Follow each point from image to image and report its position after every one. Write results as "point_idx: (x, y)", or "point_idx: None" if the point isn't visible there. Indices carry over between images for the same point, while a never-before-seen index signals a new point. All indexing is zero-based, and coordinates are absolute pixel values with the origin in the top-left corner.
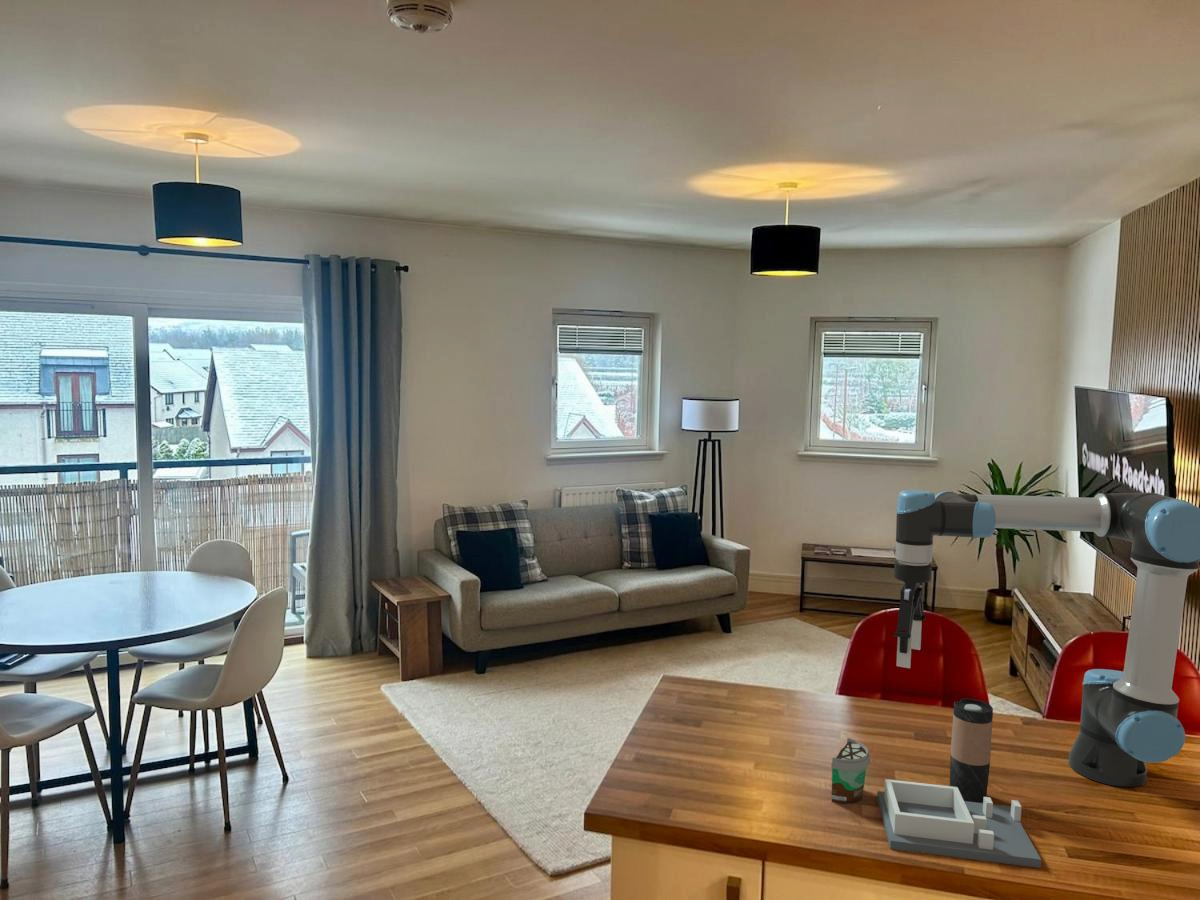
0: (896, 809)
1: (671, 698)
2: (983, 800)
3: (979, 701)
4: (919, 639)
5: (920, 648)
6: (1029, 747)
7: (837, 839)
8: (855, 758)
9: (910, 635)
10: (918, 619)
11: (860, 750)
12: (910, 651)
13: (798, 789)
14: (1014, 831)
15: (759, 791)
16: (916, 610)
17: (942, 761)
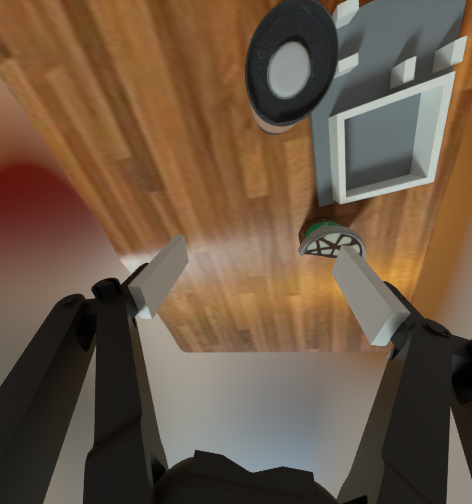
0: (420, 182)
1: (215, 347)
2: (337, 73)
3: (249, 55)
4: (172, 252)
5: (175, 236)
6: (78, 35)
7: (410, 224)
8: (346, 241)
9: (444, 331)
10: (129, 298)
11: (321, 239)
12: (377, 275)
13: (323, 264)
14: (383, 17)
15: (337, 286)
16: (136, 348)
17: (199, 153)
